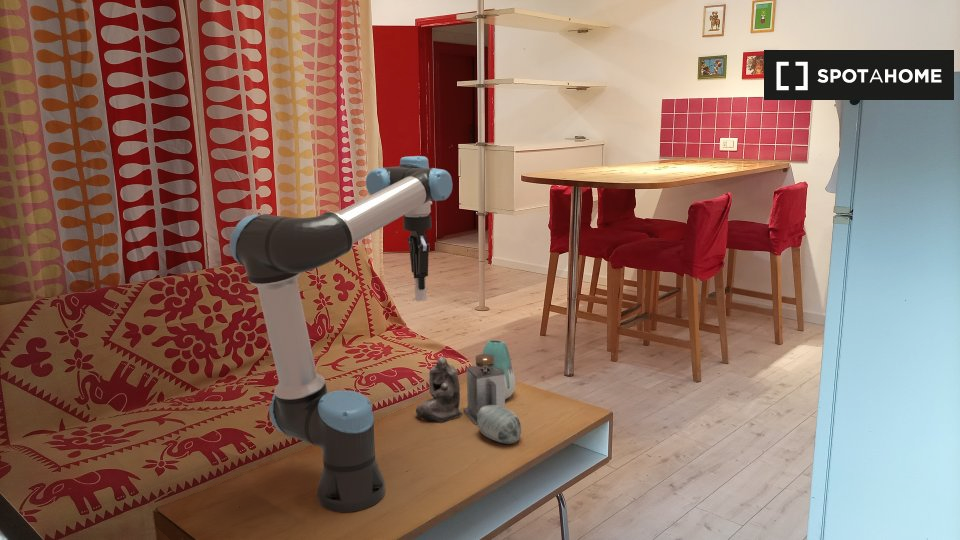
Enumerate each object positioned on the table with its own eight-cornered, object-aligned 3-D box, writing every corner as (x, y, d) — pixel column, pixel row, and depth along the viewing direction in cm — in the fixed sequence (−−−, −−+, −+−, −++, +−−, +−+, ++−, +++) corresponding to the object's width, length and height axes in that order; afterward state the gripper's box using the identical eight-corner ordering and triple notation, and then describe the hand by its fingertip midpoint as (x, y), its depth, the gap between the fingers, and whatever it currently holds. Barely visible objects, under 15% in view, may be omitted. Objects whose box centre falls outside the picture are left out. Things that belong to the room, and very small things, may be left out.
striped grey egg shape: (534, 430, 188) (514, 400, 186) (509, 455, 184) (488, 425, 182) (508, 423, 200) (489, 395, 198) (484, 446, 196) (464, 418, 194)
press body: (478, 427, 198) (476, 380, 195) (463, 411, 208) (462, 366, 206) (511, 420, 201) (510, 374, 198) (495, 405, 212) (494, 361, 209)
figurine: (416, 424, 201) (413, 363, 197) (415, 407, 212) (413, 349, 208) (463, 421, 202) (461, 360, 198) (460, 404, 213) (458, 346, 209)
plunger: (480, 405, 201) (479, 361, 198) (473, 398, 206) (471, 355, 203) (498, 402, 203) (497, 358, 200) (491, 395, 208) (490, 352, 205)
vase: (498, 386, 226) (497, 332, 223) (523, 397, 218) (522, 340, 214) (469, 396, 219) (467, 340, 215) (494, 407, 211) (493, 349, 207)
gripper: (437, 216, 188) (441, 304, 193) (423, 210, 200) (427, 293, 205) (409, 219, 186) (414, 307, 191) (397, 212, 198) (401, 296, 203)
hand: (420, 300), depth 198 cm, fingers closed
